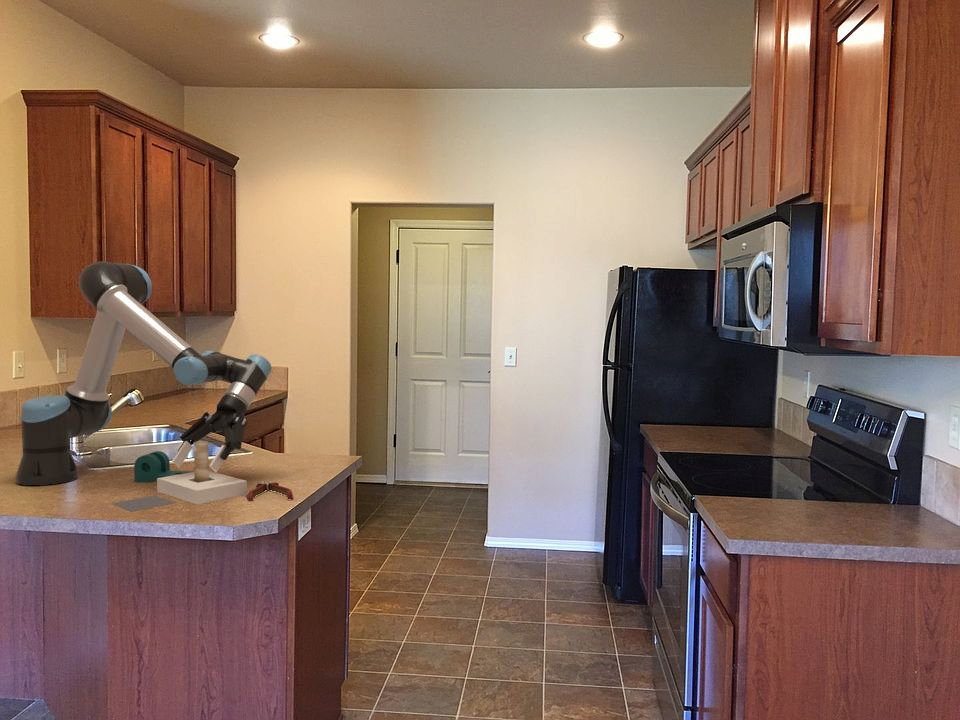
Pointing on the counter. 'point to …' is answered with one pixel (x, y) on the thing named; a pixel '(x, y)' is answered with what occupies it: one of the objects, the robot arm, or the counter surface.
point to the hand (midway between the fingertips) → (194, 466)
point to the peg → (201, 461)
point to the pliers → (269, 486)
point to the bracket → (153, 467)
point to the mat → (143, 503)
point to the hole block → (202, 487)
